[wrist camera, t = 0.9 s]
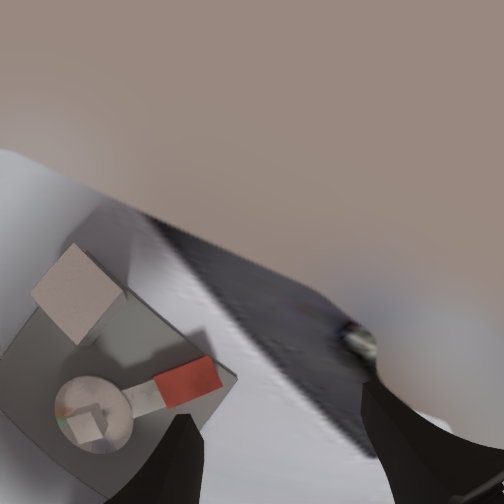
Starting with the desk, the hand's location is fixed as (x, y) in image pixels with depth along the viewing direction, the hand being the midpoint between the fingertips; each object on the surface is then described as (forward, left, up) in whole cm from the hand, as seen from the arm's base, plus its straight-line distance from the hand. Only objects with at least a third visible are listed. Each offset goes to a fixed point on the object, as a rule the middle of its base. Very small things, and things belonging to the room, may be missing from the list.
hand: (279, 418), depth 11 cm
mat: (-6, +7, -13) cm, 16 cm away
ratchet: (-5, +4, -12) cm, 14 cm away
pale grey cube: (-1, +12, -12) cm, 17 cm away
